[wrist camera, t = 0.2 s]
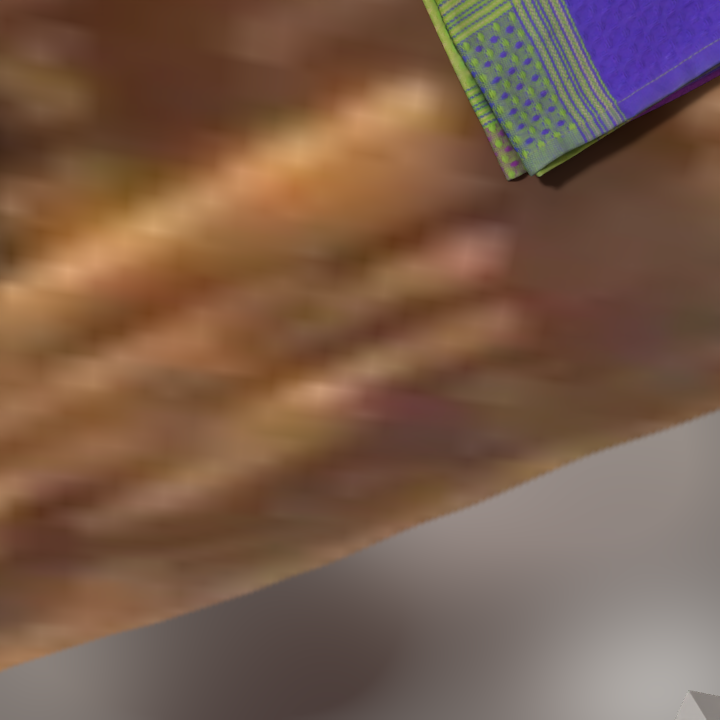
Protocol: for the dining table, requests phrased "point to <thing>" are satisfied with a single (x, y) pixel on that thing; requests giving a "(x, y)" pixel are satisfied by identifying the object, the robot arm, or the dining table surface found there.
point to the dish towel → (572, 67)
